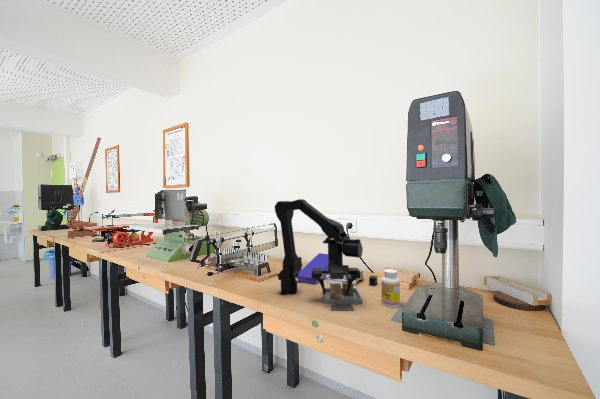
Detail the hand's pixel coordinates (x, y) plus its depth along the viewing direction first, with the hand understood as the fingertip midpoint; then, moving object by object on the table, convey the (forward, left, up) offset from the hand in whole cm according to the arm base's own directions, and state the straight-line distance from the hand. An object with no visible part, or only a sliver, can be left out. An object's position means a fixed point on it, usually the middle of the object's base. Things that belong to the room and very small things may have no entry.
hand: (335, 294), depth 108 cm
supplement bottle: (+20, -3, -3) cm, 21 cm away
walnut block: (+5, +6, -2) cm, 9 cm away
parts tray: (+2, +3, -2) cm, 5 cm away
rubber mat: (+1, -8, -2) cm, 8 cm away
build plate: (+19, +20, -3) cm, 28 cm away
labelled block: (0, 0, -2) cm, 2 cm away
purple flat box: (-6, +34, -3) cm, 34 cm away
